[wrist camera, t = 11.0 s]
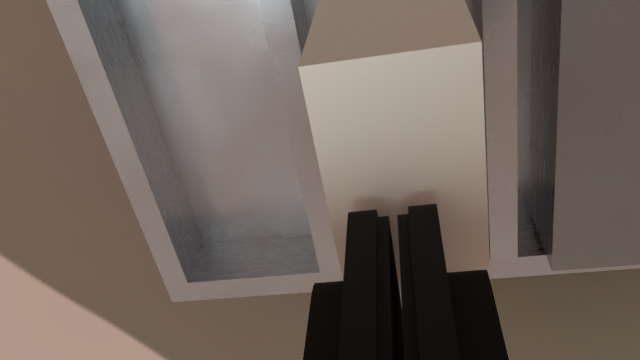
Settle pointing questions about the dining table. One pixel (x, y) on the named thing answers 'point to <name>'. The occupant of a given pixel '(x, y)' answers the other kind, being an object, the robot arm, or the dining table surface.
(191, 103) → the rack
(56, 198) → the dining table surface
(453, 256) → the block
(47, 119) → the dining table surface
